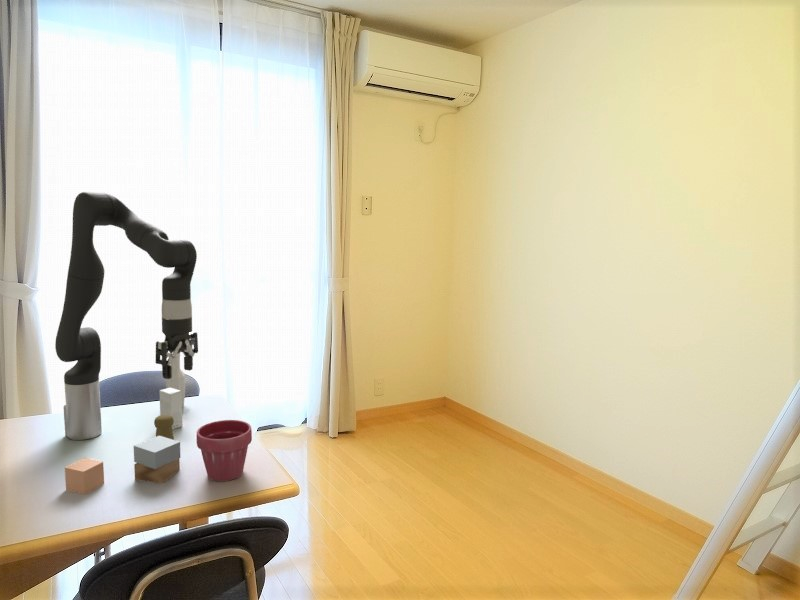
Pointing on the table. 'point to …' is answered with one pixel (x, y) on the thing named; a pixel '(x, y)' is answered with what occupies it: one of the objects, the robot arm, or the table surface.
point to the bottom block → (156, 472)
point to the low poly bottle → (177, 377)
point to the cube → (84, 475)
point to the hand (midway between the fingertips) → (178, 374)
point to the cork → (164, 426)
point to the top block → (157, 452)
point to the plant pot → (224, 448)
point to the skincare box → (171, 405)
